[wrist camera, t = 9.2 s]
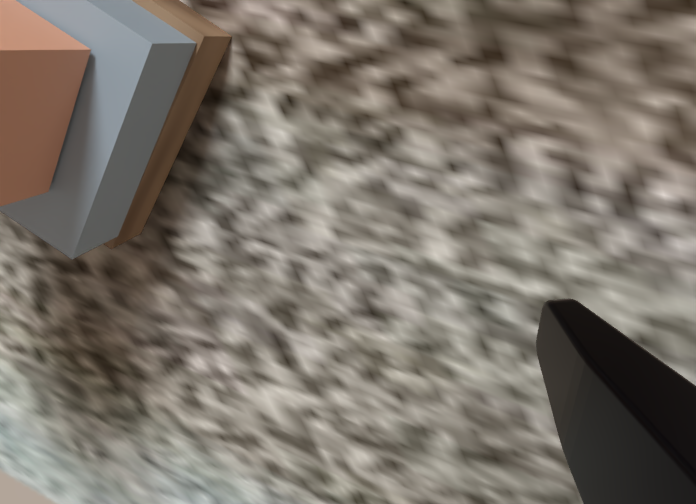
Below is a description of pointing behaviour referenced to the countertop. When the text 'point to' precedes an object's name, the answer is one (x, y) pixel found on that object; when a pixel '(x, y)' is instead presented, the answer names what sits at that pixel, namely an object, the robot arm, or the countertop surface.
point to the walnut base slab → (175, 106)
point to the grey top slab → (105, 120)
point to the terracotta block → (34, 98)
